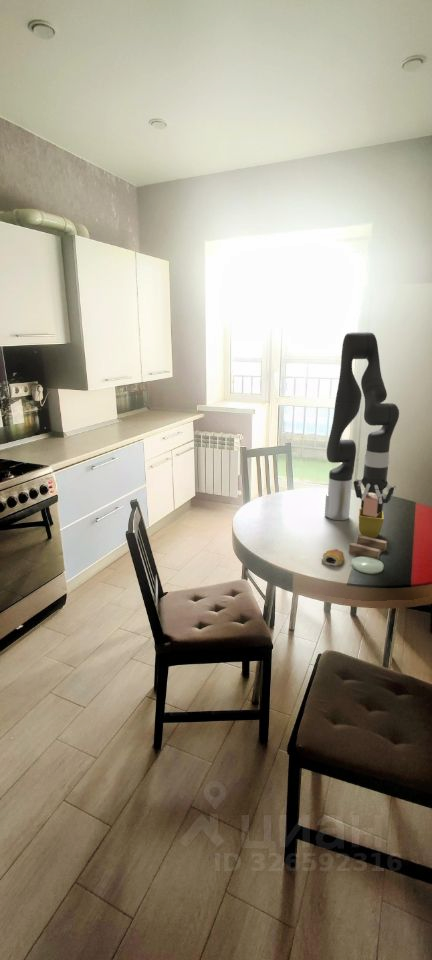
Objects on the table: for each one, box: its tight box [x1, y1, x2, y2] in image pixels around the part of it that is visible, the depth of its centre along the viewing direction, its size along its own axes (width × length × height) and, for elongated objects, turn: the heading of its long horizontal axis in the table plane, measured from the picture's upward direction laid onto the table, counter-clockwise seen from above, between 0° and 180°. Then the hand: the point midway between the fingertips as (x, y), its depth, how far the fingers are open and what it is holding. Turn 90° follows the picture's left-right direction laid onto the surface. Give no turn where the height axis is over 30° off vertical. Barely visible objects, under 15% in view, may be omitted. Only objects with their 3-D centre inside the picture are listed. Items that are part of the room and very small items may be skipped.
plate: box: [351, 556, 384, 575], centre depth 146 cm, size 10×10×1 cm
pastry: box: [321, 549, 345, 567], centre depth 150 cm, size 9×7×4 cm
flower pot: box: [358, 508, 385, 539], centre depth 168 cm, size 9×9×9 cm
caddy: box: [348, 534, 388, 560], centre depth 156 cm, size 10×10×3 cm
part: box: [363, 493, 379, 517], centre depth 151 cm, size 4×4×6 cm
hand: (371, 511), depth 152 cm, fingers closed on part, 4 cm apart
